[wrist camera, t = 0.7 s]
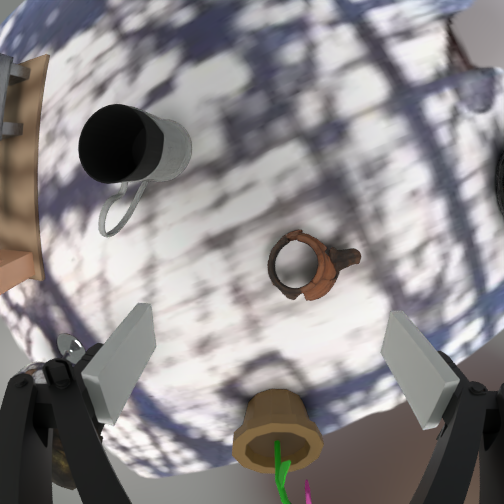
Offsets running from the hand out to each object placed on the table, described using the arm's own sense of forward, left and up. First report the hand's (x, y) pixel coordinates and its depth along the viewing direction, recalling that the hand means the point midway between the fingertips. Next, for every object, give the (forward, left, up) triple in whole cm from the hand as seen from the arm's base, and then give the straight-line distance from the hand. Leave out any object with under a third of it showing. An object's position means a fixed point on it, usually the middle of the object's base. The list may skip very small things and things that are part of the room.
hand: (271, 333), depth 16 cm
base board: (-9, -43, -27) cm, 52 cm away
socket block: (+7, -43, -26) cm, 51 cm away
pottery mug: (+4, +7, -27) cm, 28 cm away
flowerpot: (+32, +4, -27) cm, 42 cm away
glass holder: (-8, -15, -27) cm, 32 cm away
